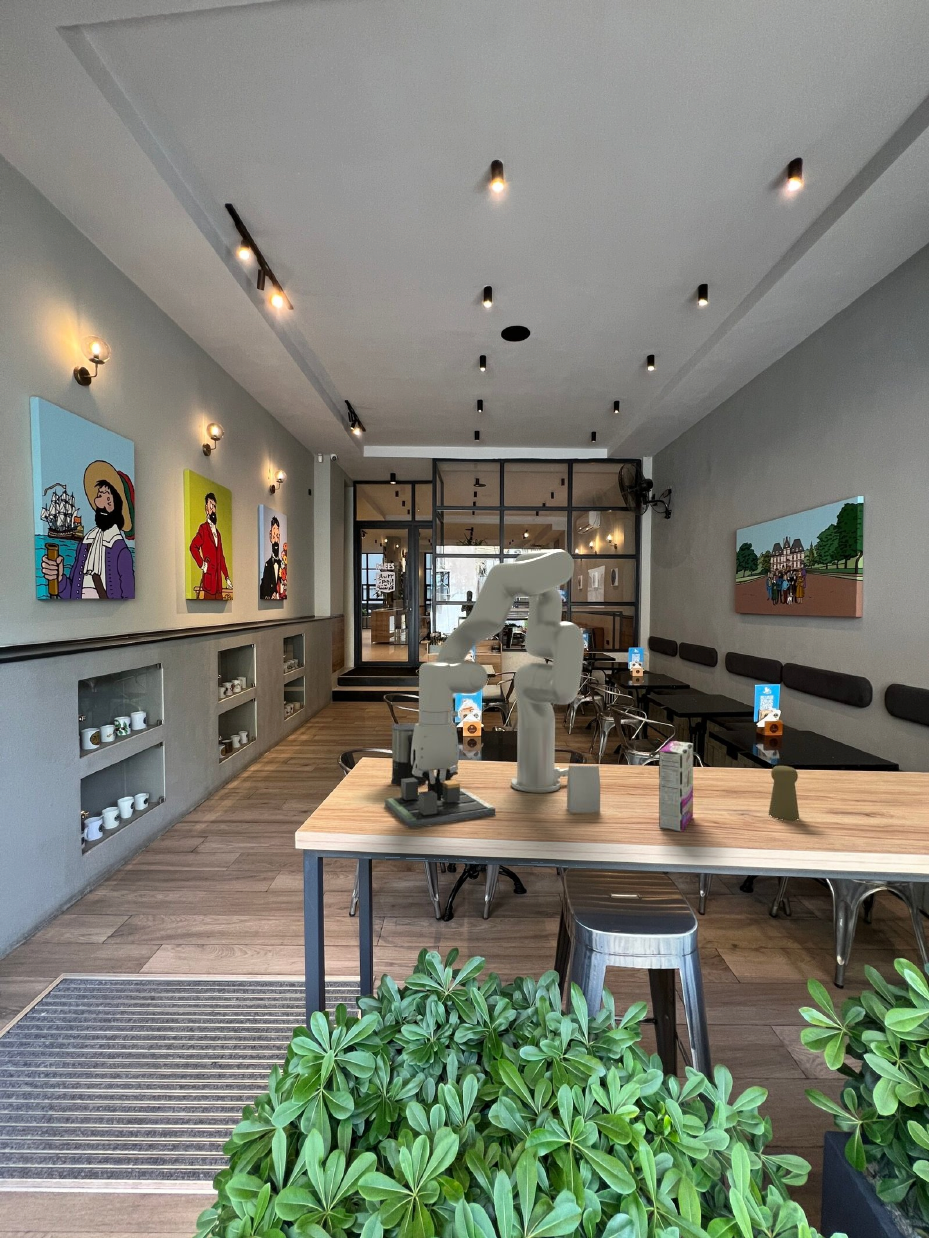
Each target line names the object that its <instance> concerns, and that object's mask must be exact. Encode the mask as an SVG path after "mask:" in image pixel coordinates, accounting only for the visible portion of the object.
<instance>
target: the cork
mask: <svg viewBox="0 0 929 1238" xmlns="http://www.w3.org/2000/svg"><path fill="white" fill-rule="evenodd" d="M770 773H771V779H772V780H773V786H772V791H771V797H770V803H769V809H768V815H771V816H772V817H771V816H770V817H771V818H773V817H774V818H773V819H775V818H778V819H777V820H779V819H783V820H782V821H784V820H786V822H795V820H797V819H799V820H800V812H799V806H798V798H797V789H796V783H797V781H798V778H799V774H798V771H797V770H796V769H795V768H794V767H792V766H788V765H775V766H774V767H773V768H772V769H771V771H770ZM797 821H798V820H797Z"/></svg>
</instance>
